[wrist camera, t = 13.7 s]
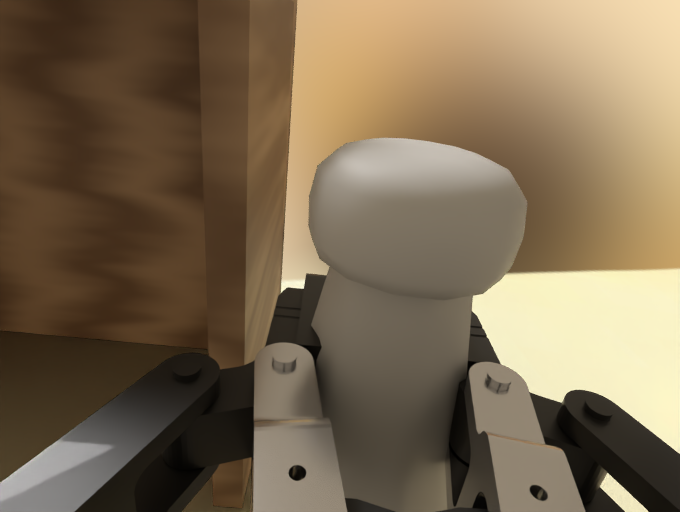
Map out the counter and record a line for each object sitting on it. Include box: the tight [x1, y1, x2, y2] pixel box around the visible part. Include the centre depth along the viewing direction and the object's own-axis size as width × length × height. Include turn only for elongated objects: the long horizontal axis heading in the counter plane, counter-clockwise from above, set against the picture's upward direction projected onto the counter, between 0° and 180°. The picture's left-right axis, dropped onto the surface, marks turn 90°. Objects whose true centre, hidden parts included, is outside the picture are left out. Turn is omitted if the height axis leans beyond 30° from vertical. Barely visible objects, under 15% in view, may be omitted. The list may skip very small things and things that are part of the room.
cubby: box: [0, 0, 297, 508], centre depth 18 cm, size 20×11×20 cm, turn 90°
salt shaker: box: [309, 138, 527, 512], centre depth 11 cm, size 6×6×13 cm
